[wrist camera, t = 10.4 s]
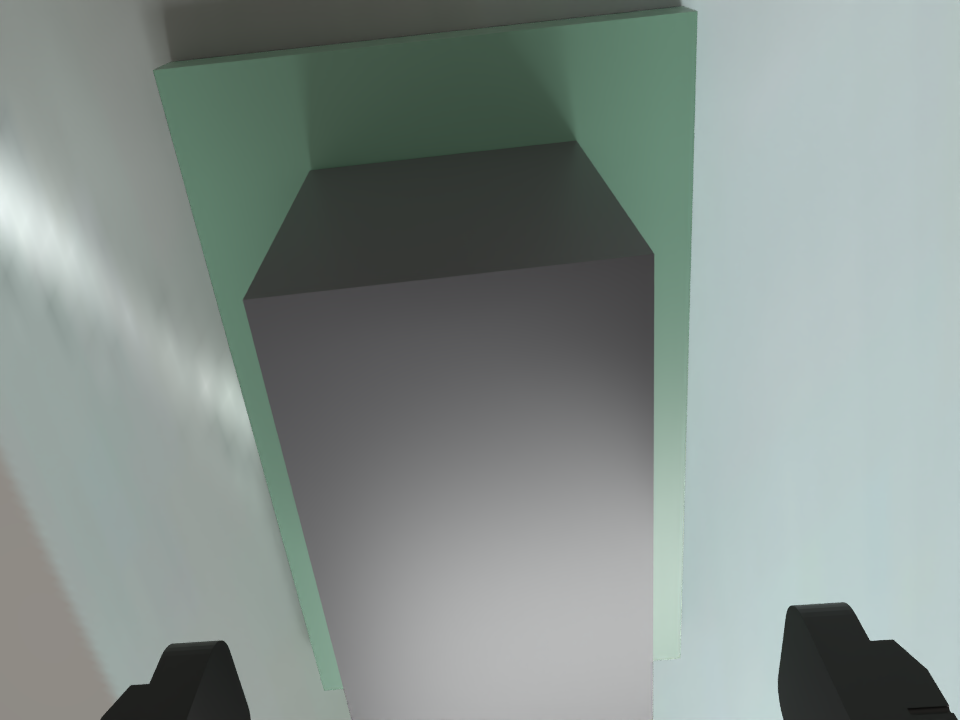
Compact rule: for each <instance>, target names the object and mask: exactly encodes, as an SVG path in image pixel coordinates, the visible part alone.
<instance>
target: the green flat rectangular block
mask: <svg viewBox="0 0 960 720" xmlns="http://www.w3.org/2000/svg"><path fill="white" fill-rule="evenodd" d="M696 44H697V11H696V10H693V9H690V8H687V7H684V6H681V7H672V8H662V9H653V10H644V11H635V12H626V13H616V14H607V15H598V16H589V17H580V18H571V19H561V20H552V21H543V22H534V23H525V24H515V25H506V26H497V27H488V28H479V29H469V30H460V31H451V32H442V33H433V34H424V35H414V36H405V37H396V38H387V39H378V40H368V41H359V42H350V43H341V44H332V45H322V46H313V47H304V48H295V49H286V50H277V51H267V52H258V53H249V54H240V55H231V56H221V57H212V58H203V59H194V60H185V61H176V62H170V63H168V64H165V65H163V66H161V67H159V68H157V69H155V70H153V72H154V76H155V79H156V83H157V86H158V90H159V94H160V97H161V101H162V105H163V108H164V112H165V115H166V119H167V123H168V126H169V130H170V134H171V137H172V141H173V145H174V148H175V152H176V155H177V159H178V163H179V166H180V170H181V174H182V177H183V181H184V184H185V188H186V192H187V195H188V199H189V203H190V206H191V210H192V213H193V217H194V221H195V224H196V228H197V232H198V235H199V239H200V242H201V246H202V250H203V253H204V257H205V261H206V264H207V268H208V271H209V275H210V279H211V282H212V286H213V290H214V293H215V297H216V300H217V304H218V308H219V311H220V315H221V319H222V322H223V326H224V329H225V333H226V337H227V340H228V344H229V348H230V351H231V355H232V358H233V362H234V366H235V369H236V373H237V377H238V380H239V384H240V387H241V391H242V395H243V398H244V402H245V406H246V409H247V413H248V416H249V420H250V424H251V427H252V431H253V435H254V438H255V442H256V445H257V449H258V453H259V456H260V460H261V464H262V467H263V471H264V474H265V478H266V482H267V485H268V489H269V493H270V496H271V500H272V503H273V507H274V511H275V514H276V518H277V522H278V525H279V529H280V532H281V536H282V540H283V543H284V547H285V551H286V554H287V558H288V561H289V565H290V569H291V572H292V576H293V580H294V583H295V587H296V590H297V594H298V598H299V601H300V605H301V609H302V612H303V616H304V619H305V623H306V627H307V630H308V634H309V638H310V641H311V645H312V648H313V652H314V656H315V659H316V663H317V667H318V670H319V674H320V677H321V681H322V685H323V688H324V691H325V690H336V689H343V685H342V681H341V677H340V673H339V670H338V666H337V662H336V658H335V654H334V650H333V646H332V643H331V639H330V635H329V631H328V627H327V623H326V619H325V616H324V612H323V608H322V604H321V600H320V596H319V592H318V589H317V585H316V581H315V577H314V573H313V569H312V565H311V562H310V558H309V554H308V550H307V546H306V542H305V539H304V535H303V531H302V527H301V523H300V519H299V515H298V512H297V508H296V504H295V500H294V496H293V492H292V488H291V485H290V481H289V477H288V473H287V469H286V465H285V461H284V458H283V454H282V450H281V446H280V442H279V438H278V434H277V431H276V427H275V423H274V419H273V415H272V411H271V407H270V404H269V400H268V396H267V392H266V388H265V384H264V380H263V377H262V373H261V369H260V365H259V361H258V357H257V353H256V350H255V346H254V342H253V338H252V334H251V330H250V327H249V323H248V319H247V315H246V311H245V307H244V303H243V298H244V296H245V294H246V292H247V291H248V289H249V287H250V285H251V283H252V281H253V279H254V277H255V275H256V273H257V271H258V269H259V267H260V265H261V264H262V262H263V260H264V258H265V256H266V254H267V252H268V250H269V248H270V246H271V244H272V242H273V240H274V238H275V236H276V235H277V233H278V231H279V229H280V227H281V225H282V223H283V221H284V219H285V217H286V215H287V213H288V211H289V209H290V208H291V206H292V204H293V202H294V200H295V198H296V196H297V194H298V192H299V190H300V188H301V186H302V184H303V182H304V181H305V179H306V177H307V175H308V173H309V171H310V170H318V169H327V168H336V167H345V166H353V165H362V164H371V163H380V162H389V161H398V160H407V159H416V158H425V157H434V156H443V155H452V154H461V153H470V152H479V151H488V150H497V149H506V148H515V147H523V146H532V145H541V144H550V143H559V142H568V141H577V142H578V143H579V145H580V146H581V148H582V149H583V151H584V152H585V153H586V155H587V156H588V158H589V159H590V161H591V162H592V164H593V165H594V167H595V168H596V169H597V171H598V172H599V174H600V175H601V177H602V178H603V180H604V181H605V183H606V184H607V186H608V187H609V188H610V190H611V191H612V193H613V194H614V196H615V197H616V199H617V200H618V202H619V203H620V204H621V206H622V207H623V209H624V210H625V212H626V213H627V215H628V216H629V218H630V219H631V221H632V222H633V223H634V225H635V226H636V228H637V229H638V231H639V232H640V234H641V235H642V237H643V238H644V239H645V241H646V242H647V244H648V245H649V247H650V248H651V250H652V251H653V253H654V538H653V661H658V660H669V659H680V650H681V613H682V575H683V537H684V499H685V461H686V423H687V385H688V347H689V309H690V271H691V234H692V196H693V158H694V120H695V82H696Z"/></svg>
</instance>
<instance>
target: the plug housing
mask: <svg viewBox="0 0 960 720" xmlns="http://www.w3.org/2000/svg"><path fill="white" fill-rule="evenodd" d="M243 303H244V307H245V311H246V315H247V319H248V323H249V327H250V330H251V334H252V338H253V342H254V346H255V350H256V353H257V357H258V361H259V365H260V369H261V373H262V377H263V380H264V384H265V388H266V392H267V396H268V400H269V404H270V407H271V411H272V415H273V419H274V423H275V427H276V431H277V434H278V438H279V442H280V446H281V450H282V454H283V458H284V461H285V465H286V469H287V473H288V477H289V481H290V485H291V488H292V492H293V496H294V500H295V504H296V508H297V512H298V515H299V519H300V523H301V527H302V531H303V535H304V539H305V542H306V546H307V550H308V554H309V558H310V562H311V565H312V569H313V573H314V577H315V581H316V585H317V589H318V592H319V596H320V600H321V604H322V608H323V612H324V616H325V619H326V623H327V627H328V631H329V635H330V639H331V643H332V646H333V650H334V654H335V658H336V662H337V666H338V670H339V673H340V677H341V681H342V685H343V689H344V693H345V697H346V700H347V704H348V708H349V712H350V716H351V720H653V538H654V253H653V251H652V250H651V248H650V247H649V245H648V244H647V242H646V241H645V239H644V238H643V237H642V235H641V234H640V232H639V231H638V229H637V228H636V226H635V225H634V223H633V222H632V221H631V219H630V218H629V216H628V215H627V213H626V212H625V210H624V209H623V207H622V206H621V204H620V203H619V202H618V200H617V199H616V197H615V196H614V194H613V193H612V191H611V190H610V188H609V187H608V186H607V184H606V183H605V181H604V180H603V178H602V177H601V175H600V174H599V172H598V171H597V169H596V168H595V167H594V165H593V164H592V162H591V161H590V159H589V158H588V156H587V155H586V153H585V152H584V151H583V149H582V148H581V146H580V145H579V143H578V142H577V141H568V142H559V143H550V144H541V145H532V146H523V147H515V148H506V149H497V150H488V151H479V152H470V153H461V154H452V155H443V156H434V157H425V158H416V159H407V160H398V161H389V162H380V163H371V164H362V165H353V166H345V167H336V168H327V169H318V170H310V171H309V173H308V175H307V177H306V179H305V181H304V182H303V184H302V186H301V188H300V190H299V192H298V194H297V196H296V198H295V200H294V202H293V204H292V206H291V208H290V209H289V211H288V213H287V215H286V217H285V219H284V221H283V223H282V225H281V227H280V229H279V231H278V233H277V235H276V236H275V238H274V240H273V242H272V244H271V246H270V248H269V250H268V252H267V254H266V256H265V258H264V260H263V262H262V264H261V265H260V267H259V269H258V271H257V273H256V275H255V277H254V279H253V281H252V283H251V285H250V287H249V289H248V291H247V292H246V294H245V296H244V298H243Z"/></svg>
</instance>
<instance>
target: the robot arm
mask: <svg viewBox="0 0 960 720" xmlns="http://www.w3.org/2000/svg"><path fill="white" fill-rule="evenodd" d="M778 693H779V701H780V707H781V712H782V716H783V719H784V720H958V719H957V718H956V716H955V714H954V713H951V712H950V710H949V705H948V703H947V701H946V700H945V698H944V696H943V695H942V693H941V691H940V690H939V688H938V686H937V685H936V683H935V681H934V680H933V678H932V676H931V675H930V673H929V671H928V670H927V669H926V668H925V667H924V666H923V665H922V664H920V663H919V662H918V661H917V660H916V659H915V658H914V657H912V656H911V655H910V654H909V653H908V652H907V651H906V650H904V649H903V648H902V647H901V646H900V645H899V644H898V643H896V642H895V641H894V640H878V641H870V640H869V638H868V636H867V634H866V633H865V631H864V629H863V627H862V625H861V623H860V622H859V620H858V618H857V616H856V614H855V613H854V611H853V609H852V608H851V607H850V606H849V605H848V604H847V603H844V602H841V603H825V604H810V605H794V606H790V607H789V608H788V610H787V614H786V620H785V628H784V636H783V644H782V652H781V659H780V667H779V675H778ZM101 720H251V719H250V712H249V708H248V705H247V702H246V698H245V695H244V692H243V689H242V686H241V683H240V680H239V677H238V674H237V671H236V668H235V665H234V662H233V659H232V656H231V653H230V650H229V647H228V645H227V644H226V643H225V642H224V641H207V642H191V643H176V644H171V645H169V646H168V647H167V648H166V649H165V650H164V652H163V654H162V656H161V658H160V661H159V663H158V665H157V668H156V670H155V672H154V674H153V677H152V679H151V681H150V684H143V685H131V686H130V687H129V688H128V689H127V690H126V691H125V692H124V693H123V694H122V696H121V697H120V698H119V699H118V700H117V701H116V702H115V703H114V704H113V706H112V707H111V708H110V709H109V710H108V711H107V712H106V713H105V714H104V715H103V717H102V718H101Z"/></svg>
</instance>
